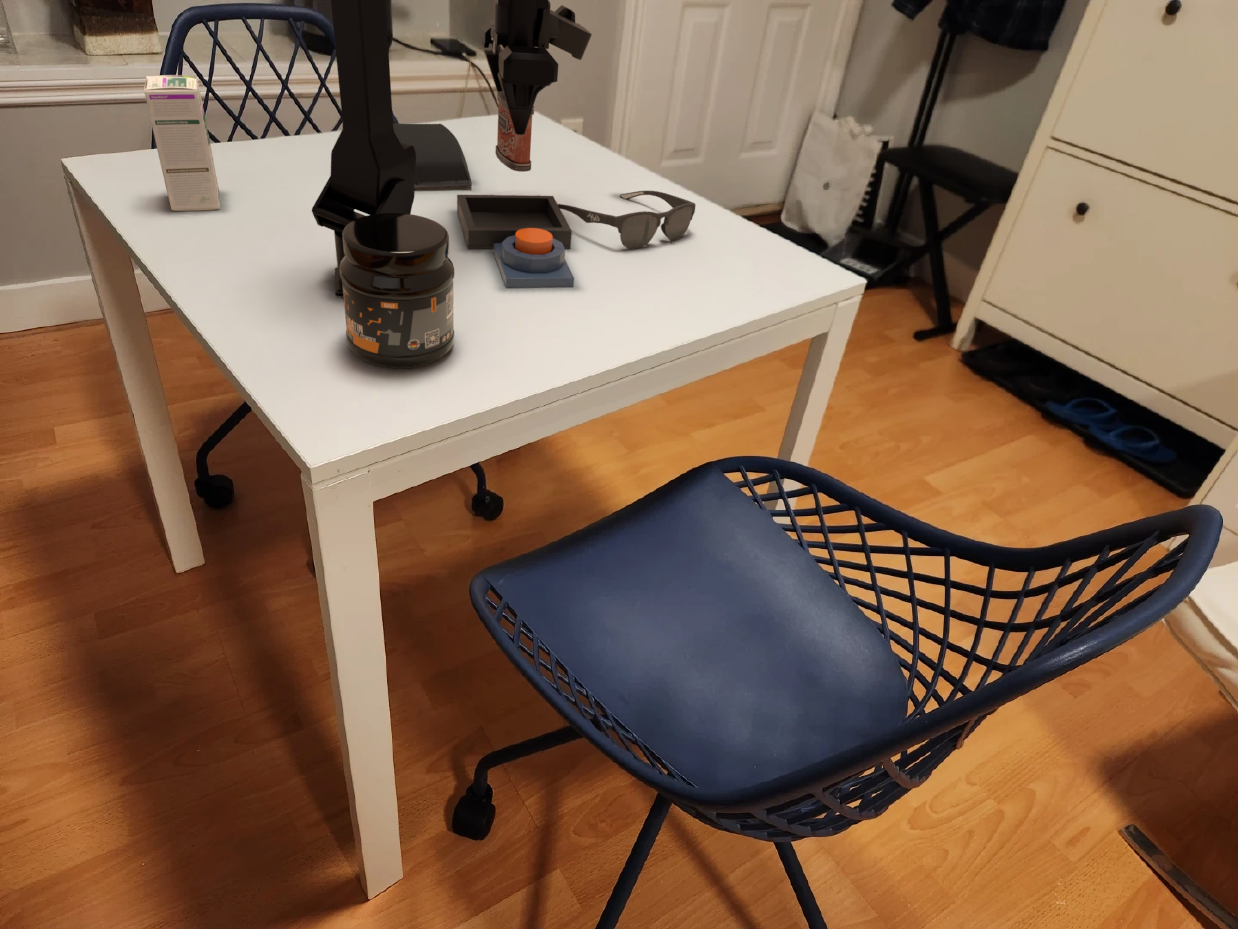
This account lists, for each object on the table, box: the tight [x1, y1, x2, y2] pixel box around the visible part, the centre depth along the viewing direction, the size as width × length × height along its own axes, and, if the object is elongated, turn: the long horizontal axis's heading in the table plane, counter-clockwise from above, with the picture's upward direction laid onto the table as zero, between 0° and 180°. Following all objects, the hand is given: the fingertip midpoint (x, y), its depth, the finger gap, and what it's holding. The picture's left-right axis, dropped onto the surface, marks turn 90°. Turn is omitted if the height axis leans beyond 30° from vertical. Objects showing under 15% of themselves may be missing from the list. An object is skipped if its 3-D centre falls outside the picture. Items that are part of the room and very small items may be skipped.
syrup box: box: [143, 74, 221, 212], centre depth 105 cm, size 6×6×14 cm
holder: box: [456, 194, 573, 250], centre depth 112 cm, size 12×13×2 cm
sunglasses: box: [557, 190, 696, 250], centre depth 118 cm, size 16×17×5 cm
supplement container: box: [340, 213, 456, 369], centre depth 83 cm, size 10×10×12 cm
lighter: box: [495, 91, 535, 173], centre depth 107 cm, size 8×3×10 cm, turn 25°
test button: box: [515, 228, 553, 255], centre depth 102 cm, size 4×4×2 cm
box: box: [492, 235, 575, 289], centre depth 103 cm, size 10×8×3 cm
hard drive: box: [393, 122, 473, 188], centre depth 127 cm, size 13×19×4 cm
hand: (514, 124), depth 107 cm, fingers closed on lighter, 8 cm apart
